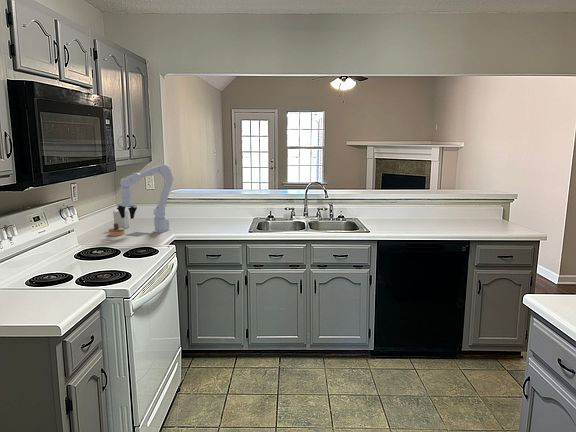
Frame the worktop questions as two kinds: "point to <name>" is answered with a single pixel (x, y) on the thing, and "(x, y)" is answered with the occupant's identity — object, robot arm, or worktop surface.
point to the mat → (137, 234)
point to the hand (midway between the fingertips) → (127, 218)
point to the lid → (116, 228)
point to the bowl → (116, 233)
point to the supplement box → (121, 219)
